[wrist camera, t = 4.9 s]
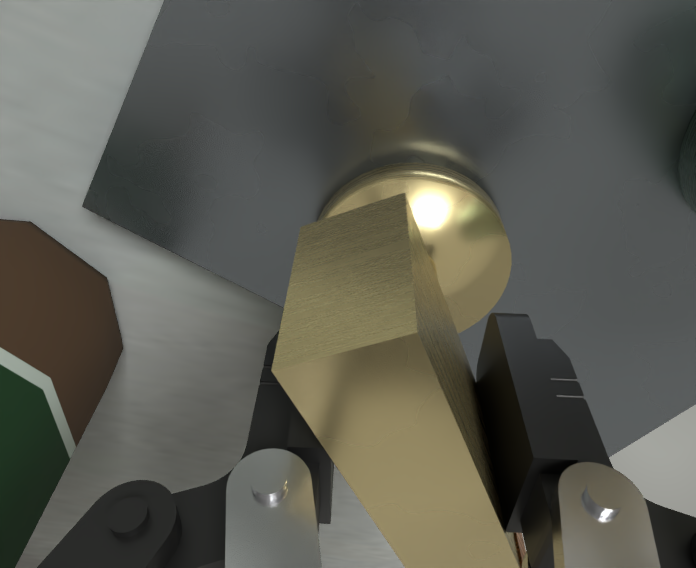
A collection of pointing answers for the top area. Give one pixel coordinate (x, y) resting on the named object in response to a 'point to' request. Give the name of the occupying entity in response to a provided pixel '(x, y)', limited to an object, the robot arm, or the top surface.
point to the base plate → (440, 158)
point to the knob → (402, 357)
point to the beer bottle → (46, 370)
